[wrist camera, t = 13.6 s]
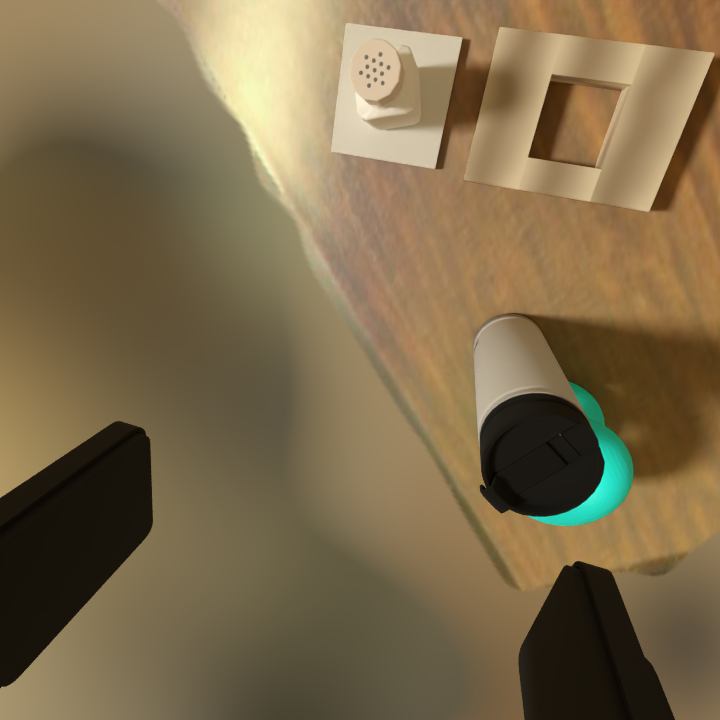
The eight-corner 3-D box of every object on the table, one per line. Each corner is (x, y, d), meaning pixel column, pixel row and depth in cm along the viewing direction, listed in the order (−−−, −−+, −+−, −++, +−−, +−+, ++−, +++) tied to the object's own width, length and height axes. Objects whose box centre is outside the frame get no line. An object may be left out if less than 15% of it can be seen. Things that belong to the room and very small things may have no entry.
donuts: (530, 546, 36) (478, 453, 33) (515, 474, 45) (473, 397, 42) (659, 513, 32) (610, 407, 30) (615, 442, 41) (575, 356, 39)
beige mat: (462, 40, 32) (462, 37, 31) (435, 169, 36) (434, 168, 35) (347, 25, 33) (346, 22, 33) (333, 152, 37) (331, 151, 36)
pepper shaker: (419, 66, 33) (405, 22, 24) (422, 124, 34) (410, 102, 25) (368, 75, 34) (337, 36, 25) (373, 132, 35) (346, 113, 26)
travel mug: (456, 343, 41) (450, 465, 23) (514, 298, 38) (559, 397, 20) (498, 389, 42) (524, 543, 23) (557, 349, 39) (639, 487, 21)
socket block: (699, 61, 30) (714, 53, 28) (638, 210, 34) (649, 211, 32) (497, 36, 31) (500, 27, 30) (463, 180, 35) (463, 180, 34)
